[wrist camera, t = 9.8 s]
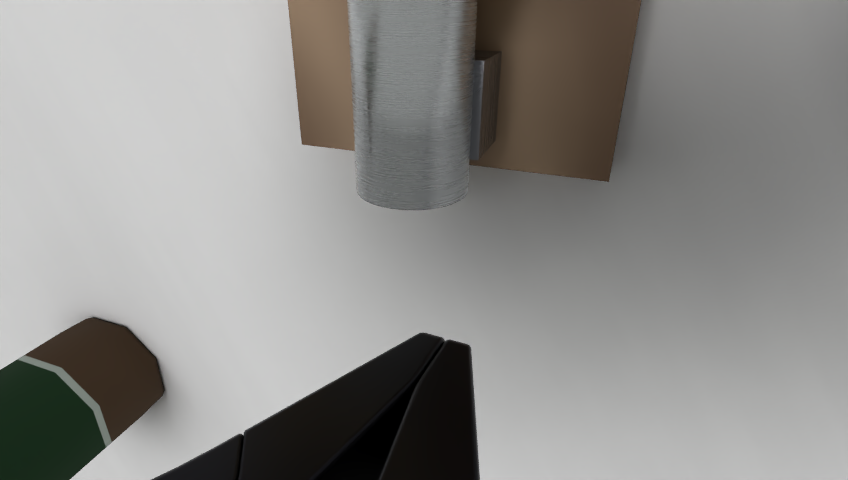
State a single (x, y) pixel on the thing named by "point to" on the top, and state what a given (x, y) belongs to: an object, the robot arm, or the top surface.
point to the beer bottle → (73, 399)
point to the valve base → (535, 85)
